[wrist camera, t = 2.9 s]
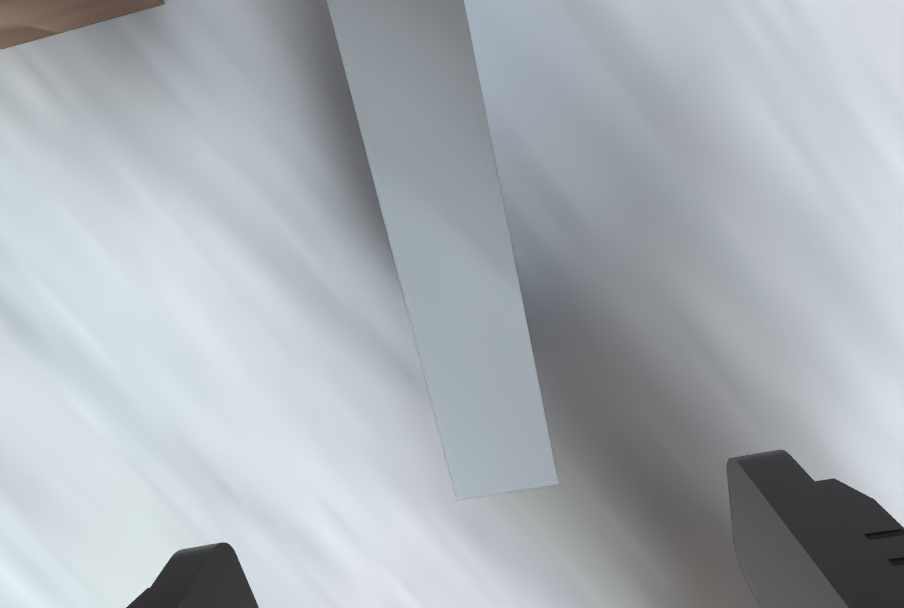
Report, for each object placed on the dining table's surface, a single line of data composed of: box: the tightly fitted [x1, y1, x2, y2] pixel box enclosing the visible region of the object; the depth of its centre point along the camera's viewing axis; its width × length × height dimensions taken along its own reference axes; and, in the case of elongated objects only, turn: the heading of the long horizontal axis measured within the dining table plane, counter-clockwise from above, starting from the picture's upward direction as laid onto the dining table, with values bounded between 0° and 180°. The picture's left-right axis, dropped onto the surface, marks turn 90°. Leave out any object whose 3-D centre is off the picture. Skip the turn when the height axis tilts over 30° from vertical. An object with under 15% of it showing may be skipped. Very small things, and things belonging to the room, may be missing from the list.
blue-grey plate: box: [327, 0, 559, 500], centre depth 16 cm, size 13×2×8 cm, turn 13°
